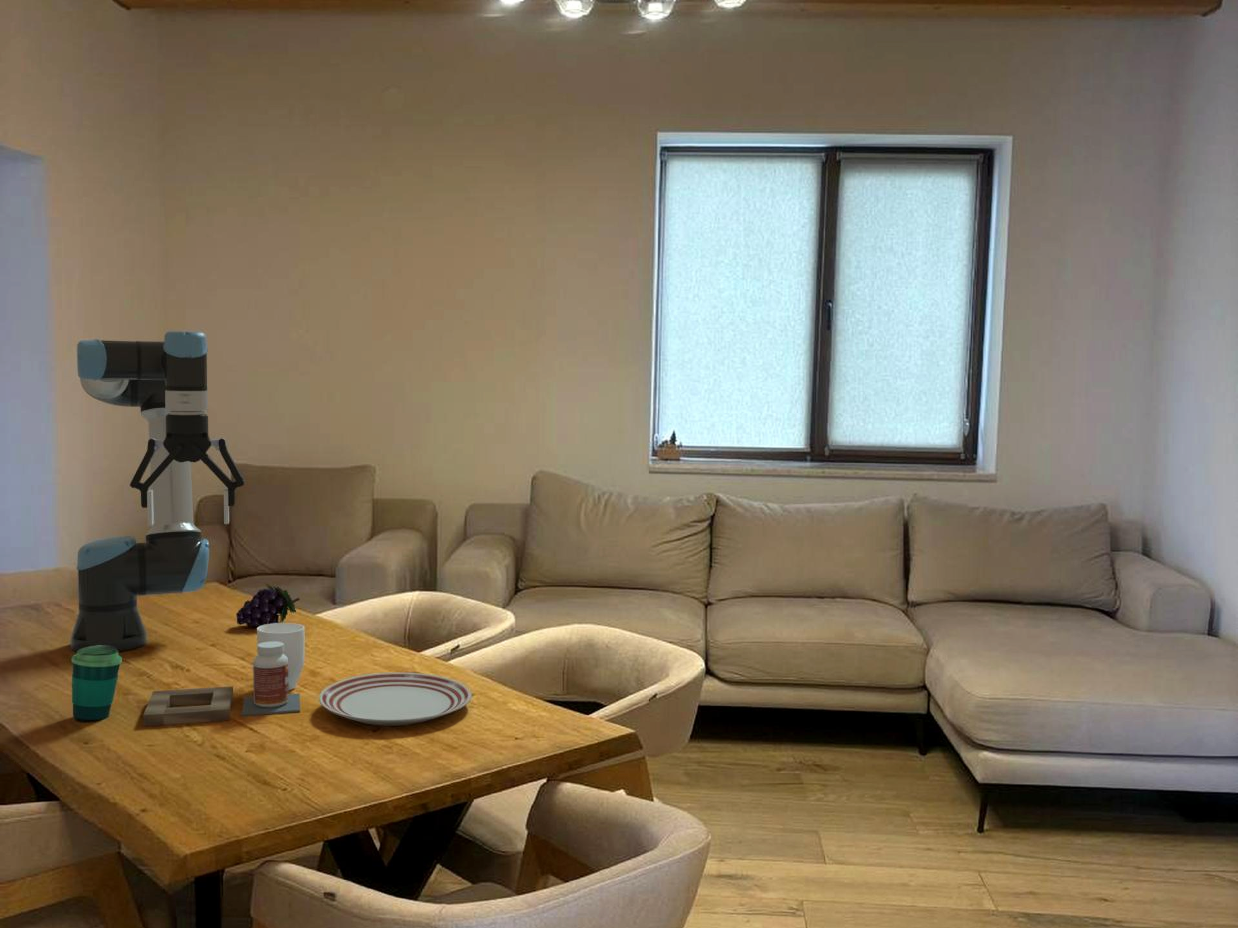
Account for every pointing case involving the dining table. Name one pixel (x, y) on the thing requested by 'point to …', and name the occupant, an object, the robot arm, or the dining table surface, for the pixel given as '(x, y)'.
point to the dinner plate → (394, 698)
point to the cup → (94, 682)
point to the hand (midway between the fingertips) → (189, 524)
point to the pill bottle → (270, 675)
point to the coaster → (289, 707)
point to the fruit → (266, 607)
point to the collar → (164, 715)
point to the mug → (287, 645)
